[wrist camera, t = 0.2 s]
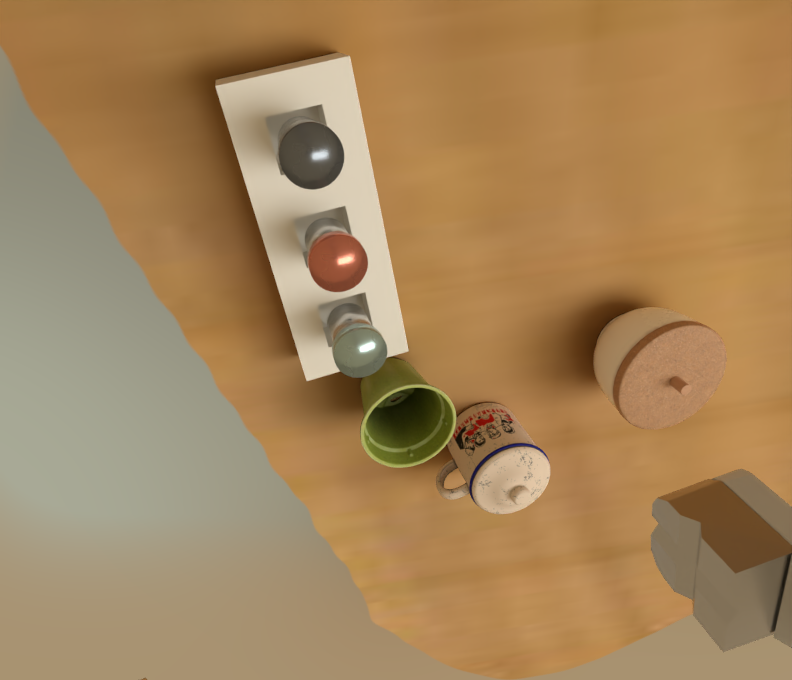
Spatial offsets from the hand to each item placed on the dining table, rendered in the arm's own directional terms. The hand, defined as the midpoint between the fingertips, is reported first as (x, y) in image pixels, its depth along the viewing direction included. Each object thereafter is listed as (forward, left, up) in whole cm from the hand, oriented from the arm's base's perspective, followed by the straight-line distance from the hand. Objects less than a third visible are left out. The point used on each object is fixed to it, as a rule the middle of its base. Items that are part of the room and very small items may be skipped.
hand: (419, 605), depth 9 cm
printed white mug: (+39, +14, -48) cm, 63 cm away
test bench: (+9, +3, -47) cm, 48 cm away
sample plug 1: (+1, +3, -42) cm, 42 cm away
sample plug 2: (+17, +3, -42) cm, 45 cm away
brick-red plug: (+9, +3, -42) cm, 43 cm away
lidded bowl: (+32, +34, -48) cm, 67 cm away
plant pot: (+28, +6, -48) cm, 56 cm away
